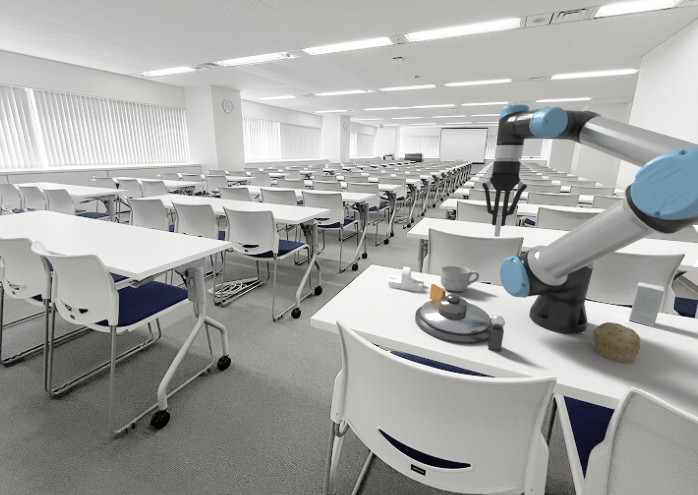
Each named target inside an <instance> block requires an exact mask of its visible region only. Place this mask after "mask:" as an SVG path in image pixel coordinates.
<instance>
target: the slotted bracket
mask: <svg viewBox="0 0 698 495" xmlns="http://www.w3.org/2000/svg"><path fill="white" fill-rule="evenodd" d="M424 284H425V279H421V278H414V277H412V267H409V266H403V267H402V272H401V276H400V275H394V274H393V275H392V274H391V275H390V277H389V278H388V281H387V287H388V286H390V287H389V288H391V287H395V288H394V289H398V288H400V290H405V289H406V290H405V291H414V292H422V291H423V288H424V286H425V285H424Z"/></svg>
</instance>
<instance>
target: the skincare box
mask: <svg viewBox="0 0 698 495" xmlns="http://www.w3.org/2000/svg"><path fill="white" fill-rule="evenodd" d="M664 293H665V287H664V286H661V285H656V284H655V285H654V284H649V283H645V282H640V281H639V282H638V284H637V287H636V292H635V295H634V298H633V302H632V307H631V310H630V314H629V317H628V321H629V320H631V321H630V322H632V321H634V322H633V323H636V322H638V323H637V324H640V323H641V324H640V325H644V324H645V326H649V327H652V328H654V327H655V325H656V320H657V317H658V313H659V311H660V307H661V303H662V300H663V296H664Z"/></svg>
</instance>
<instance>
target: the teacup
mask: <svg viewBox="0 0 698 495" xmlns="http://www.w3.org/2000/svg"><path fill="white" fill-rule="evenodd" d="M472 275H476V277H475V278H474V279H472V280H470V278H471V276H472ZM479 279H480V273H479V272H478V271H476V270H472V271H471V270H470V269H469V268H467V267H464V266H459V265H444V266H442V267H441V268H440V283H441V286H442V287H444V288H445V290H446V291H451V292H462V291H464V290H465V289H467V288H468V287H469V286H470V285H471V284H474V283H475V282H477V281H479Z"/></svg>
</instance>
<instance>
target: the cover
mask: <svg viewBox="0 0 698 495" xmlns="http://www.w3.org/2000/svg"><path fill="white" fill-rule="evenodd" d="M468 303H469V302H468V301H467V300H466V299H464V298H461V296H460V295H458V294H456V293H455V294H454V293H450V294H448V295H445V296H444V297H441V298H440V301H439V311H438V312H439V314H440V315H441V316H442V317H444V318H447V319H451V320H461V319H464V318H465V317H466V312H467V304H468Z"/></svg>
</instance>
